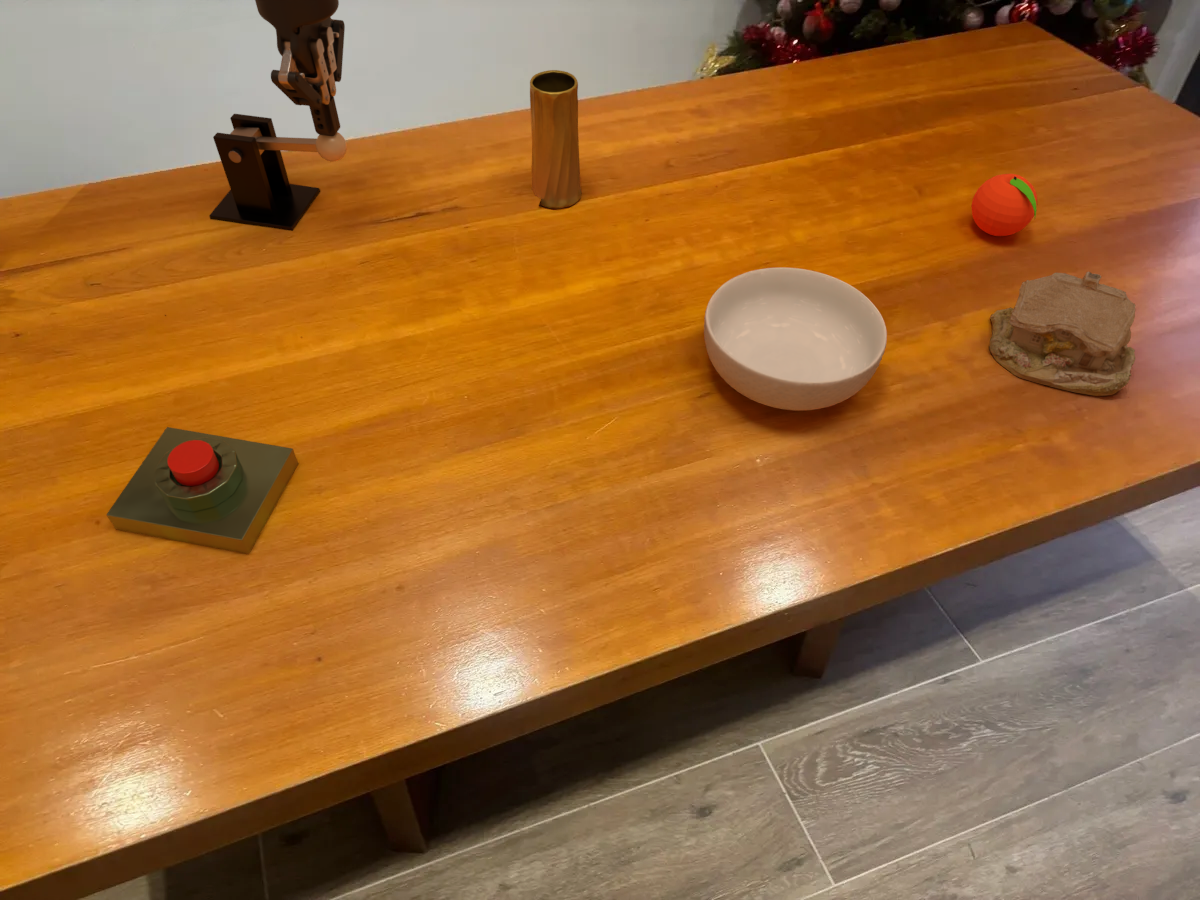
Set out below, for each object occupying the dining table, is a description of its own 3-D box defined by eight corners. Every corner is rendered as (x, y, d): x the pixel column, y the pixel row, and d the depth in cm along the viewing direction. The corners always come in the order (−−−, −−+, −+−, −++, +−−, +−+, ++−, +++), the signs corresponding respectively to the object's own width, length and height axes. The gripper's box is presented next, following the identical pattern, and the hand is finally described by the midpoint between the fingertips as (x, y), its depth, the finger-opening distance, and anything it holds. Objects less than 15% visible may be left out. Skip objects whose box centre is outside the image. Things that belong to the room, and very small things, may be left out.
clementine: (1043, 244, 104) (1068, 191, 99) (996, 260, 102) (1020, 206, 97) (996, 207, 109) (1018, 154, 103) (950, 221, 107) (970, 168, 101)
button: (166, 482, 75) (158, 469, 73) (187, 450, 77) (180, 436, 76) (206, 489, 74) (199, 476, 73) (226, 457, 76) (220, 443, 75)
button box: (116, 530, 76) (96, 501, 73) (175, 442, 82) (159, 412, 79) (249, 555, 74) (235, 527, 71) (298, 464, 81) (288, 434, 78)
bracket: (322, 198, 107) (301, 114, 99) (294, 238, 102) (270, 152, 94) (244, 187, 108) (216, 103, 100) (212, 226, 103) (181, 141, 95)
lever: (354, 152, 99) (346, 124, 96) (343, 167, 97) (335, 140, 94) (247, 147, 101) (236, 120, 99) (234, 163, 99) (223, 136, 97)
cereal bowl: (881, 341, 93) (899, 287, 87) (854, 457, 83) (873, 404, 77) (722, 302, 96) (730, 248, 91) (677, 408, 86) (684, 355, 81)
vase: (520, 193, 109) (514, 80, 98) (557, 174, 112) (555, 62, 101) (554, 215, 106) (552, 101, 95) (591, 195, 109) (593, 82, 98)
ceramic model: (970, 360, 91) (1006, 282, 84) (998, 299, 98) (1034, 221, 90) (1114, 414, 87) (1166, 336, 79) (1134, 346, 93) (1184, 268, 85)
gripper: (279, -73, 87) (320, 97, 100) (215, -16, 78) (268, 161, 92) (353, -66, 86) (384, 105, 99) (296, -8, 78) (338, 170, 91)
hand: (328, 132), depth 95 cm, fingers closed
